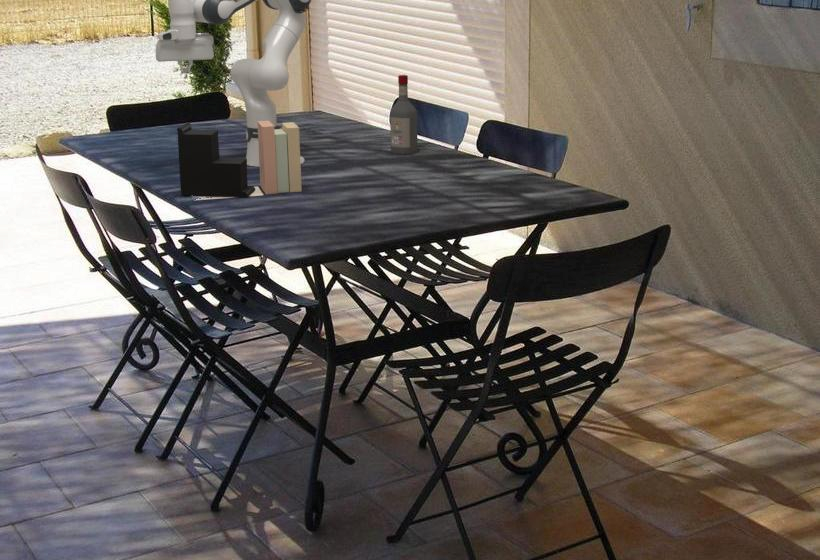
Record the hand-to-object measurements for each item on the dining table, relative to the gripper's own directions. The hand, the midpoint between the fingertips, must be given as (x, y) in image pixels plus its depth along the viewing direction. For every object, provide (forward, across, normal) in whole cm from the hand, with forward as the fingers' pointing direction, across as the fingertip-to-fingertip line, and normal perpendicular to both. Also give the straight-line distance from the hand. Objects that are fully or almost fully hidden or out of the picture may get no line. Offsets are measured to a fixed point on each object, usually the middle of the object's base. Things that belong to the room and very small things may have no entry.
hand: (186, 73), depth 431 cm
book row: (+37, -27, +32) cm, 56 cm away
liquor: (+37, -84, -17) cm, 94 cm away
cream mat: (+37, -8, +32) cm, 50 cm away
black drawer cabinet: (+37, -6, +31) cm, 49 cm away
